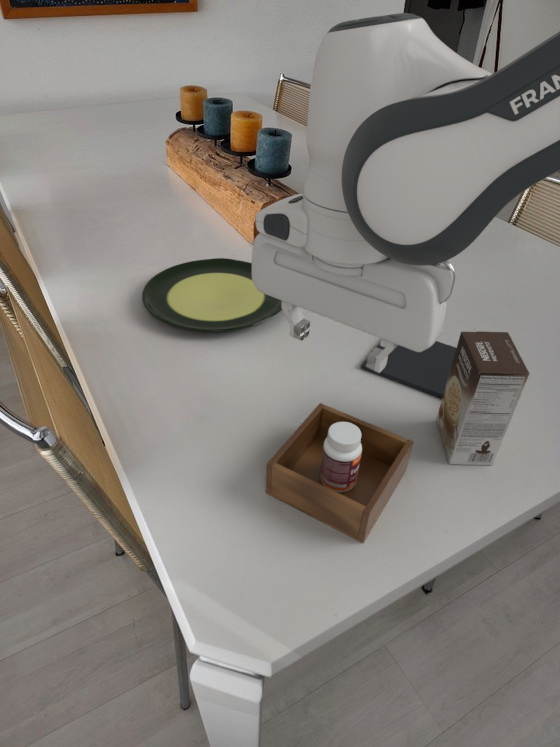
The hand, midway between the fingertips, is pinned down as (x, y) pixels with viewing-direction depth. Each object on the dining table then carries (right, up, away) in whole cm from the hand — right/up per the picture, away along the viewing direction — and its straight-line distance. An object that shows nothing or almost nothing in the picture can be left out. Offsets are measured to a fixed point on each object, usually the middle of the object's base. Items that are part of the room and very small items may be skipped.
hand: (336, 351), depth 58 cm
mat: (+20, -1, +33) cm, 39 cm away
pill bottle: (+2, -16, +13) cm, 21 cm away
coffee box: (+20, -12, +20) cm, 31 cm away
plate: (-18, +12, +49) cm, 53 cm away
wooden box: (+2, -16, +13) cm, 21 cm away
